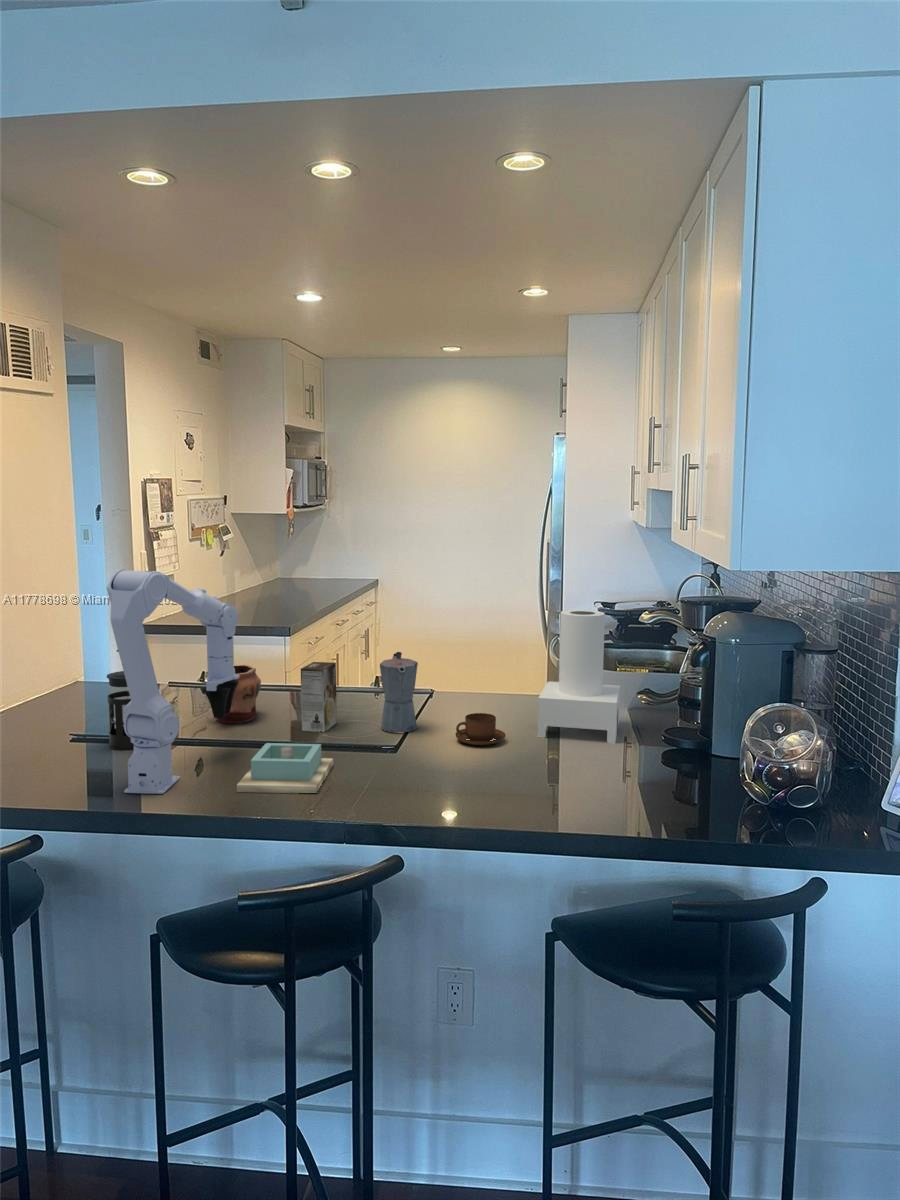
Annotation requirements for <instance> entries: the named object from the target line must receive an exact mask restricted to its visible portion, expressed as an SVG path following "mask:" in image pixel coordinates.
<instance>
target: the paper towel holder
mask: <svg viewBox="0 0 900 1200" xmlns="http://www.w3.org/2000/svg"><path fill="white" fill-rule="evenodd" d="M605 623H606V613H605V612H604V611H603V612H602V611H598V610H592V609H591V610H590V609H567V610H561V611H560V625H559V629H560V630H559V663H558V664H559V665H558V668H559V669H558V671H559V672H558V677H559V678H558V681H547V683H546V684H545V686H544V688H543V689H542V691H541V693H540V694H539V696H538V698H537V699H538V703H537V738H538V737H546V736H547V735H546V733H547V731H546V729H547V727H554V728H555V727H556V728H557V727H558V728H570V729H571V728H572V729H582V730H583V729H585V730H586V729H587V730H597V731H598V730H600V731H607V732H606V733H607V735H606V744H607V743H608V744H616V741H617V732H618V726H619V724H620V704H621V702H620V700H621V685H618V684H617V685H616V684H615V685H614V684H612V685H611V684H604V656H605V655H604V653H605Z"/></svg>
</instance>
